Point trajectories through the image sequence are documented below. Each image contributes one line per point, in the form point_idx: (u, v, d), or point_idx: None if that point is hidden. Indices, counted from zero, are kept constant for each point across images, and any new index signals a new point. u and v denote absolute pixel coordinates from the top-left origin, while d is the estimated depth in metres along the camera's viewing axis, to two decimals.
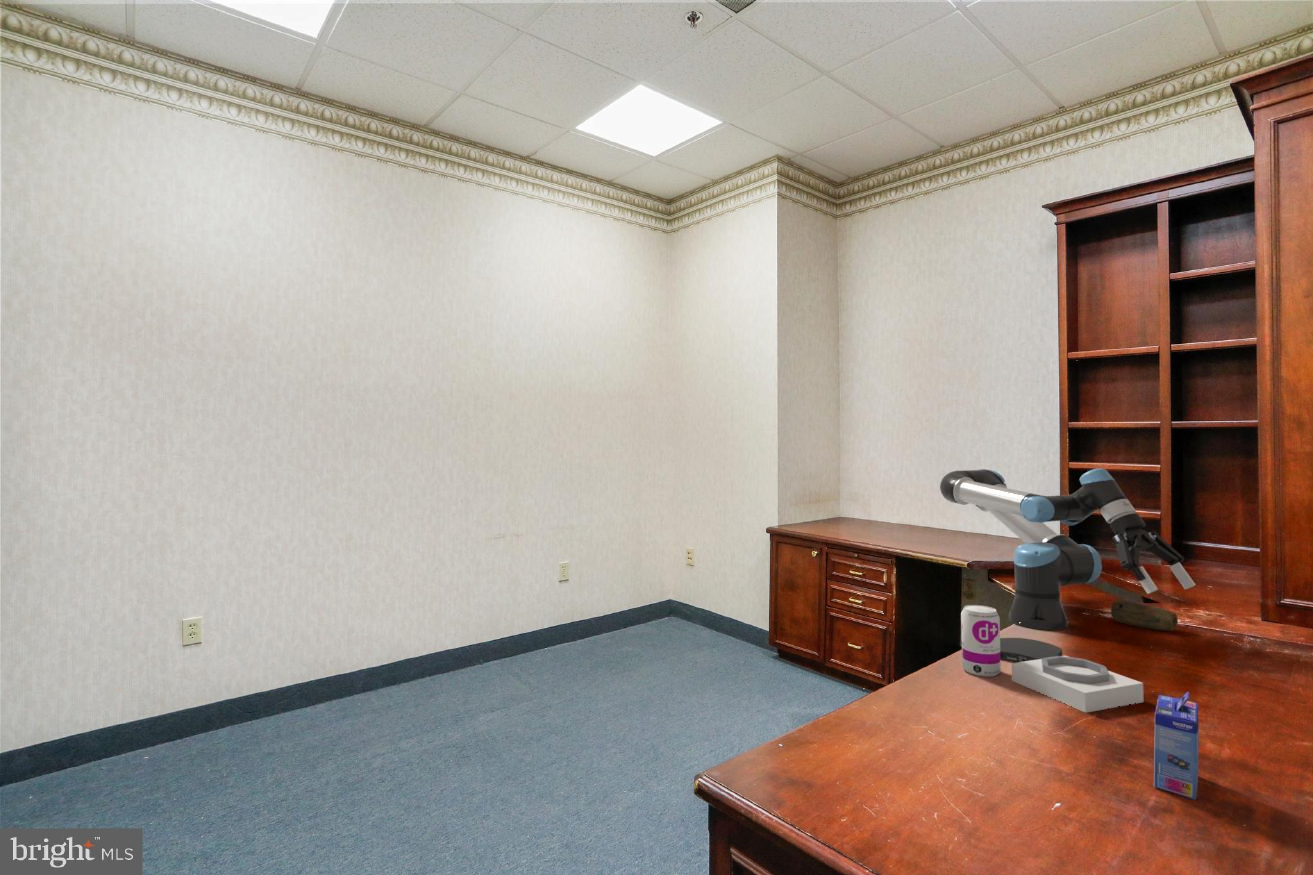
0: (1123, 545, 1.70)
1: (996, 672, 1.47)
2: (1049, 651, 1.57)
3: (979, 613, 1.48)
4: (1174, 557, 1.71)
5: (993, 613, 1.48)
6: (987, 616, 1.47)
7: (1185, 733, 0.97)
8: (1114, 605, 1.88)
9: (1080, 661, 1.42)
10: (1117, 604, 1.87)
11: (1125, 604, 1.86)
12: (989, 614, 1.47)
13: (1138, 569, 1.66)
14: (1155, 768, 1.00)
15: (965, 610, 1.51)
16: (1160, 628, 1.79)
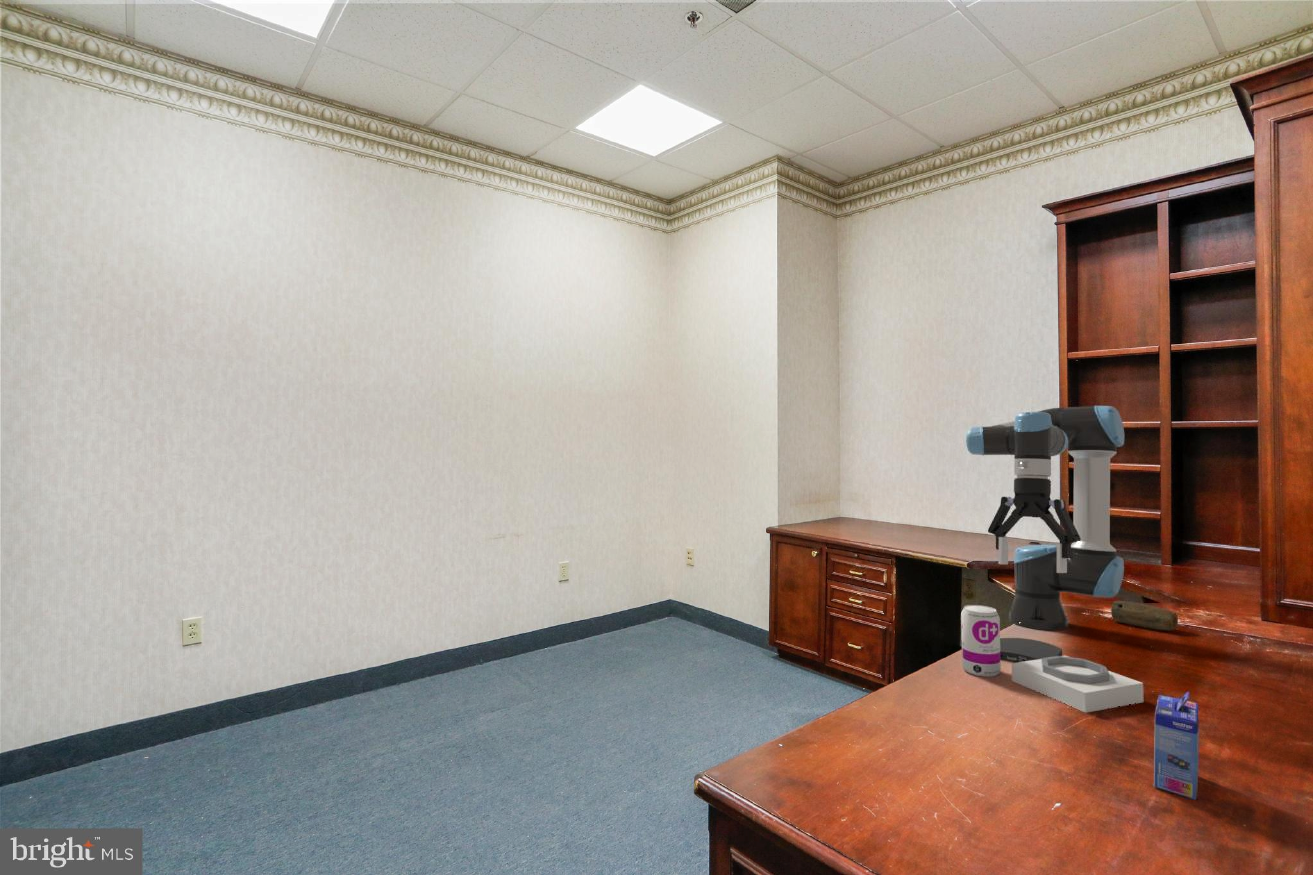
0: None
1: (996, 672, 1.47)
2: (1049, 651, 1.57)
3: (979, 613, 1.48)
4: (1059, 536, 1.41)
5: (993, 613, 1.48)
6: (987, 616, 1.47)
7: (1185, 733, 0.97)
8: (1114, 605, 1.87)
9: (1080, 661, 1.42)
10: (1117, 604, 1.87)
11: (1125, 604, 1.86)
12: (989, 614, 1.47)
13: (998, 539, 1.54)
14: (1155, 768, 1.00)
15: (965, 610, 1.51)
16: (1160, 628, 1.79)
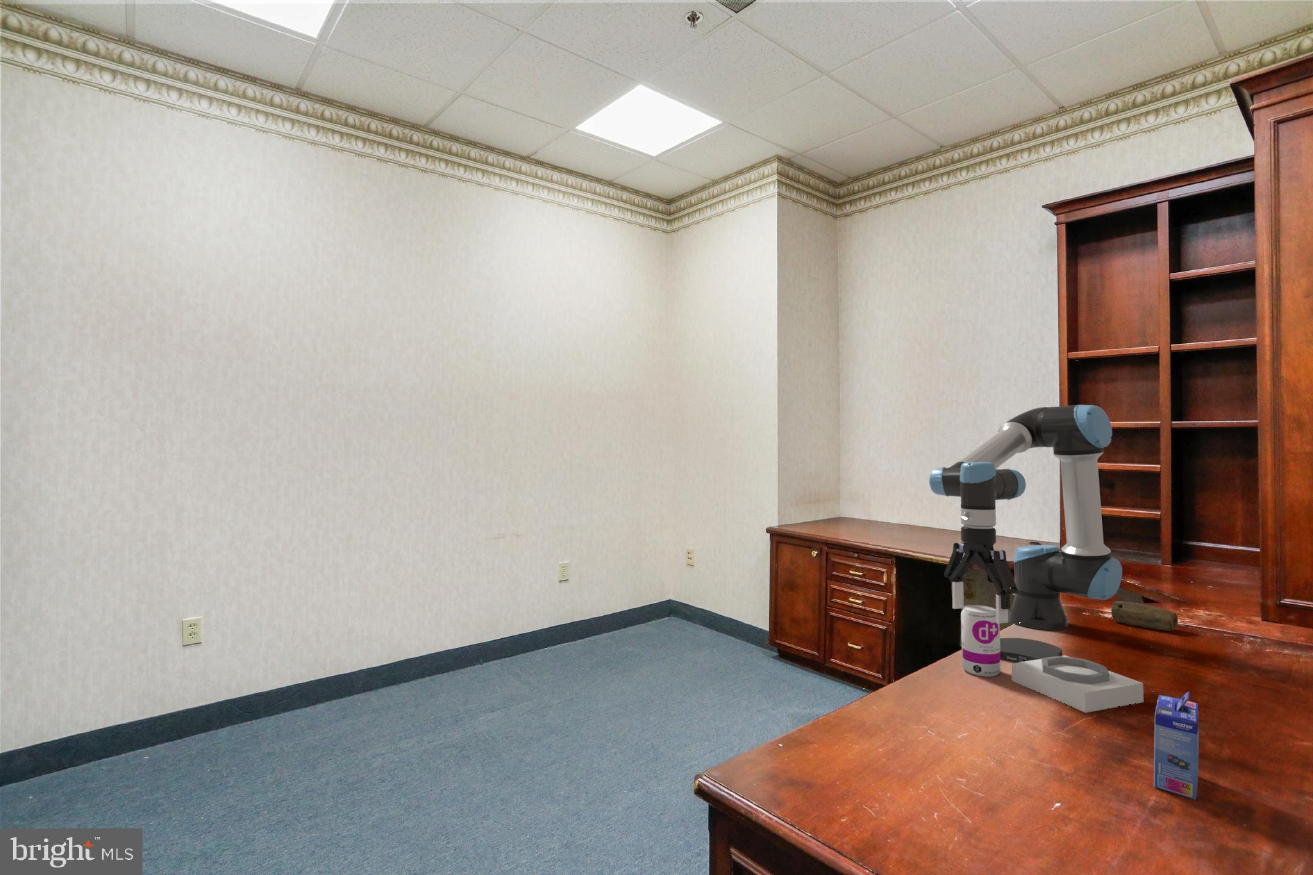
0: None
1: (996, 672, 1.47)
2: (1049, 651, 1.57)
3: (979, 613, 1.48)
4: (997, 587, 1.44)
5: (993, 613, 1.48)
6: (987, 616, 1.47)
7: (1185, 733, 0.97)
8: (1114, 605, 1.87)
9: (1080, 661, 1.42)
10: (1117, 604, 1.87)
11: (1125, 604, 1.86)
12: (989, 614, 1.47)
13: None
14: (1155, 768, 1.00)
15: (965, 610, 1.51)
16: (1161, 628, 1.79)
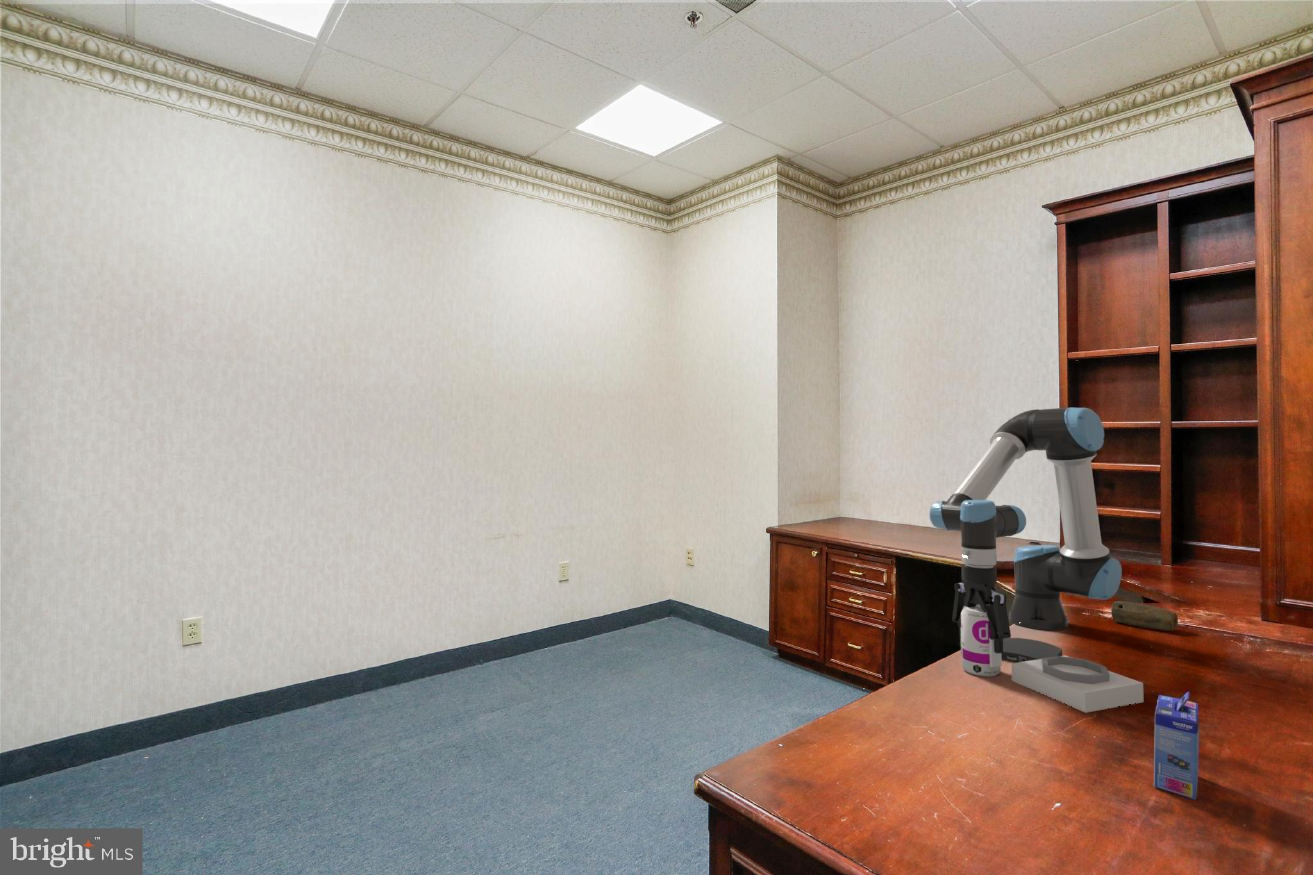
0: None
1: (996, 672, 1.47)
2: (1049, 651, 1.57)
3: (979, 613, 1.48)
4: (992, 631, 1.46)
5: None
6: (987, 616, 1.47)
7: (1185, 733, 0.97)
8: (1114, 605, 1.87)
9: (1080, 661, 1.42)
10: (1117, 605, 1.87)
11: (1125, 605, 1.86)
12: None
13: None
14: (1155, 768, 1.00)
15: (965, 610, 1.51)
16: (1161, 628, 1.79)
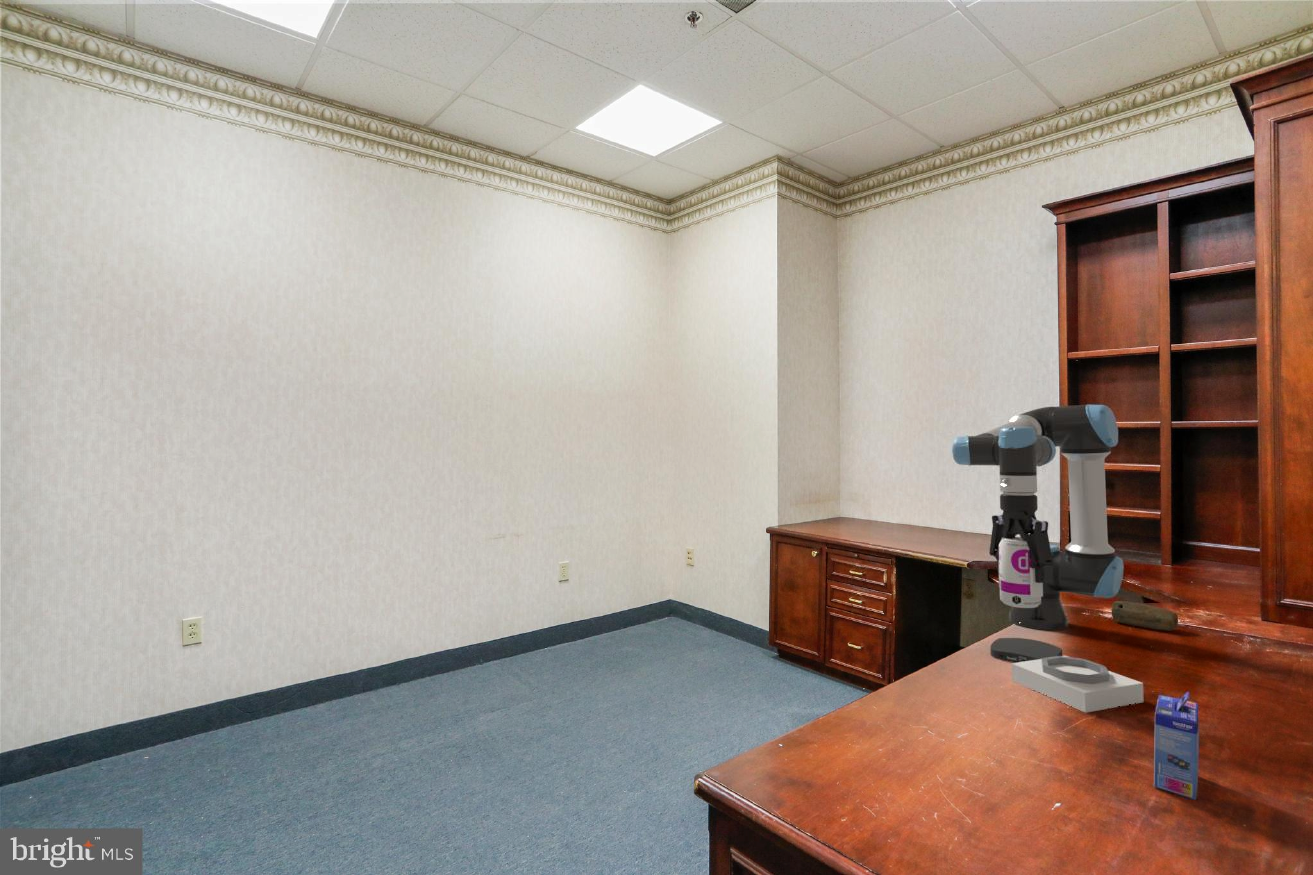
0: None
1: (1036, 603, 1.41)
2: (1049, 651, 1.57)
3: (1018, 542, 1.42)
4: (1032, 560, 1.40)
5: None
6: (1027, 545, 1.42)
7: (1185, 733, 0.97)
8: (1115, 605, 1.87)
9: (1080, 661, 1.42)
10: (1117, 604, 1.87)
11: (1126, 605, 1.85)
12: None
13: None
14: (1155, 768, 1.00)
15: (1003, 540, 1.45)
16: (1161, 628, 1.78)
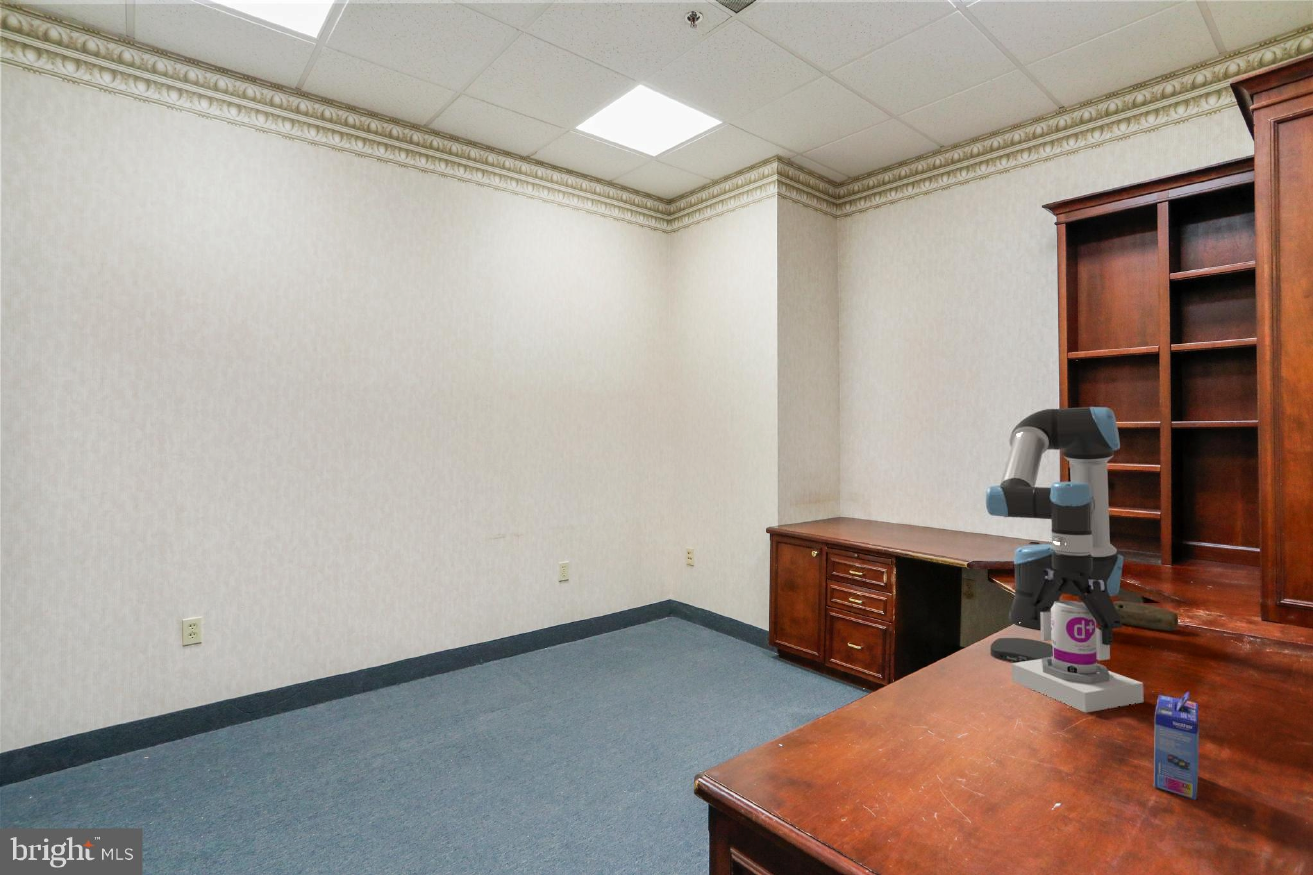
0: None
1: (1093, 673, 1.35)
2: (1049, 651, 1.57)
3: (1074, 609, 1.36)
4: (1098, 621, 1.32)
5: None
6: (1083, 613, 1.35)
7: (1185, 733, 0.97)
8: (1115, 606, 1.87)
9: None
10: (1117, 605, 1.87)
11: (1126, 605, 1.85)
12: (1085, 610, 1.35)
13: None
14: (1155, 768, 1.00)
15: (1057, 606, 1.39)
16: (1162, 628, 1.78)
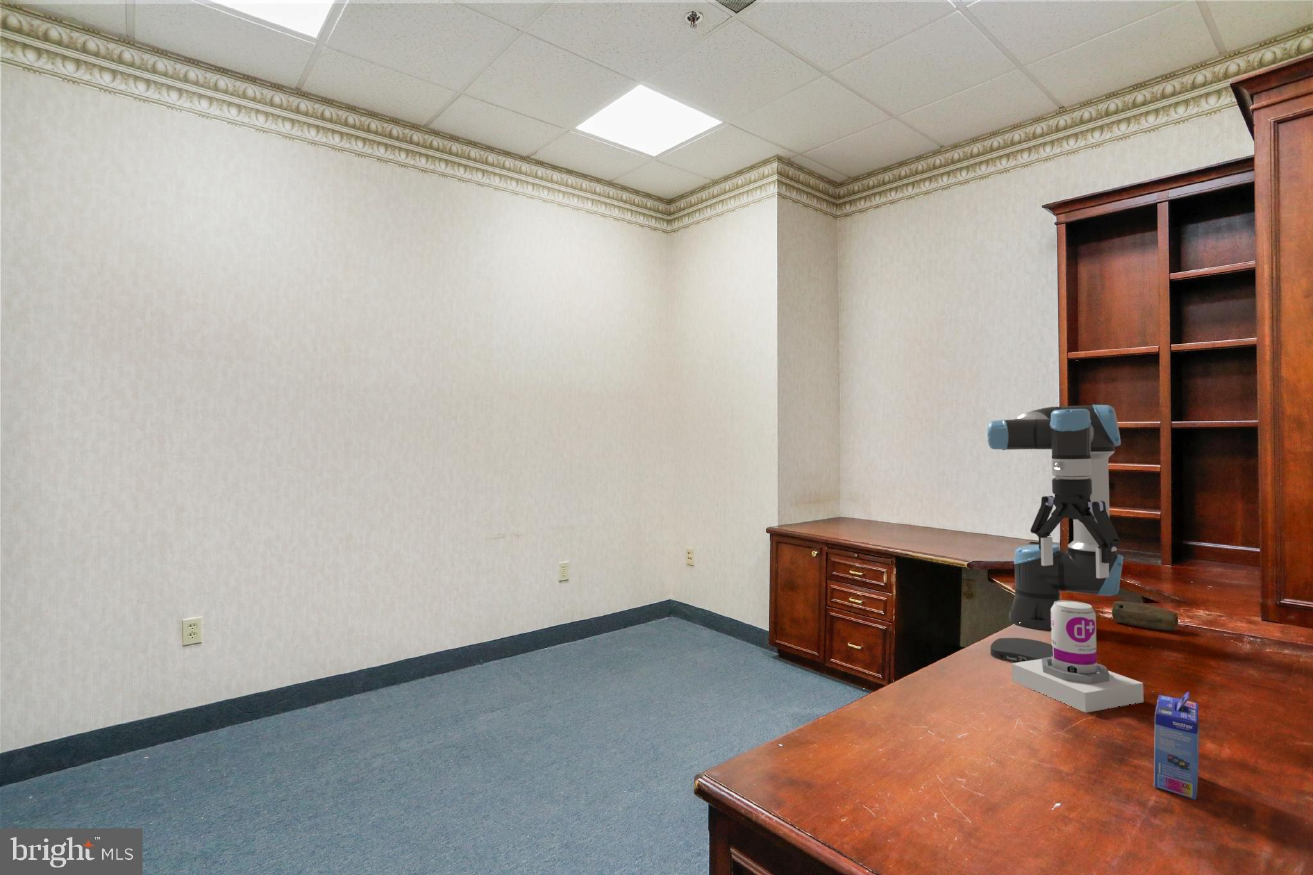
0: None
1: (1093, 673, 1.35)
2: (1049, 651, 1.57)
3: (1074, 609, 1.36)
4: (1097, 540, 1.35)
5: (1089, 609, 1.35)
6: (1083, 613, 1.35)
7: (1185, 733, 0.97)
8: (1115, 606, 1.87)
9: None
10: (1118, 605, 1.87)
11: (1126, 605, 1.85)
12: (1085, 610, 1.35)
13: (1041, 539, 1.49)
14: (1155, 768, 1.00)
15: (1057, 606, 1.39)
16: (1162, 628, 1.78)
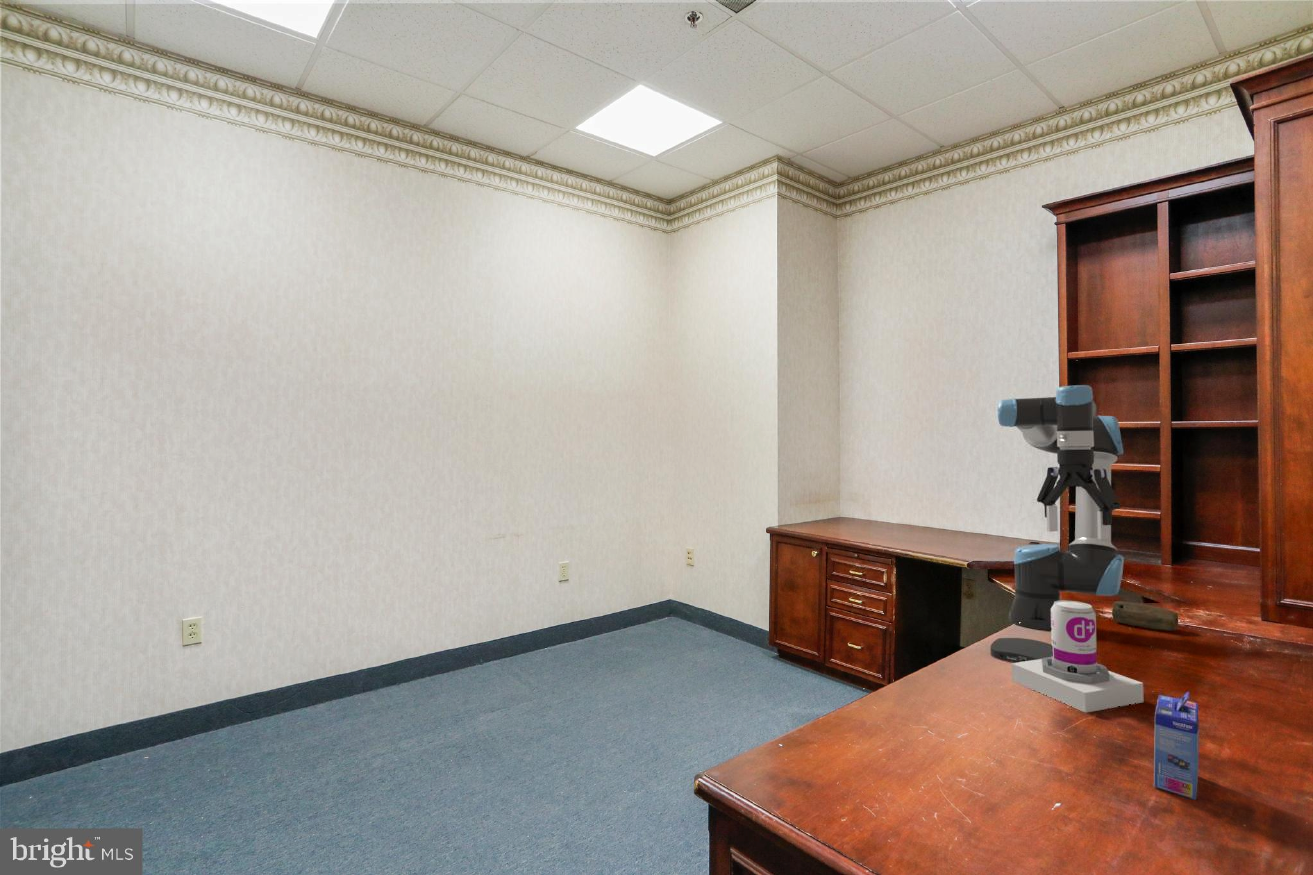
0: None
1: (1093, 673, 1.35)
2: (1049, 651, 1.57)
3: (1074, 609, 1.36)
4: (1099, 504, 1.48)
5: (1089, 609, 1.35)
6: (1083, 613, 1.35)
7: (1185, 733, 0.97)
8: (1115, 606, 1.87)
9: None
10: (1118, 605, 1.86)
11: (1126, 605, 1.85)
12: (1085, 610, 1.35)
13: (1046, 507, 1.62)
14: (1155, 768, 1.00)
15: (1057, 606, 1.39)
16: (1162, 628, 1.78)
